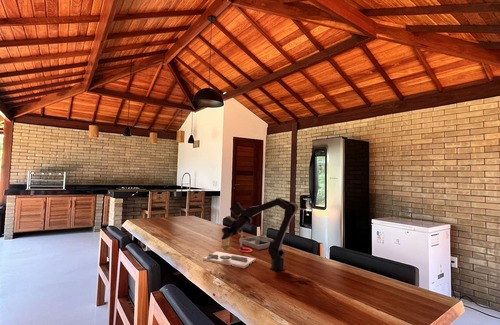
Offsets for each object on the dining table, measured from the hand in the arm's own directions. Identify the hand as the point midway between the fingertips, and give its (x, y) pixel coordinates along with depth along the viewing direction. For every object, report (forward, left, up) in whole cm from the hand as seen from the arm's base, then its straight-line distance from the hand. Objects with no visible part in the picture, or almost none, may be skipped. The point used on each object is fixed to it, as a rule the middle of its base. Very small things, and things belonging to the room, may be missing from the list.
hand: (224, 238), depth 167 cm
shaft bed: (-4, -2, -13) cm, 13 cm away
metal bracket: (+14, -45, -12) cm, 49 cm away
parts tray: (+14, -43, -13) cm, 47 cm away
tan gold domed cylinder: (-1, -1, -7) cm, 7 cm away
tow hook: (+6, -23, -13) cm, 28 cm away
